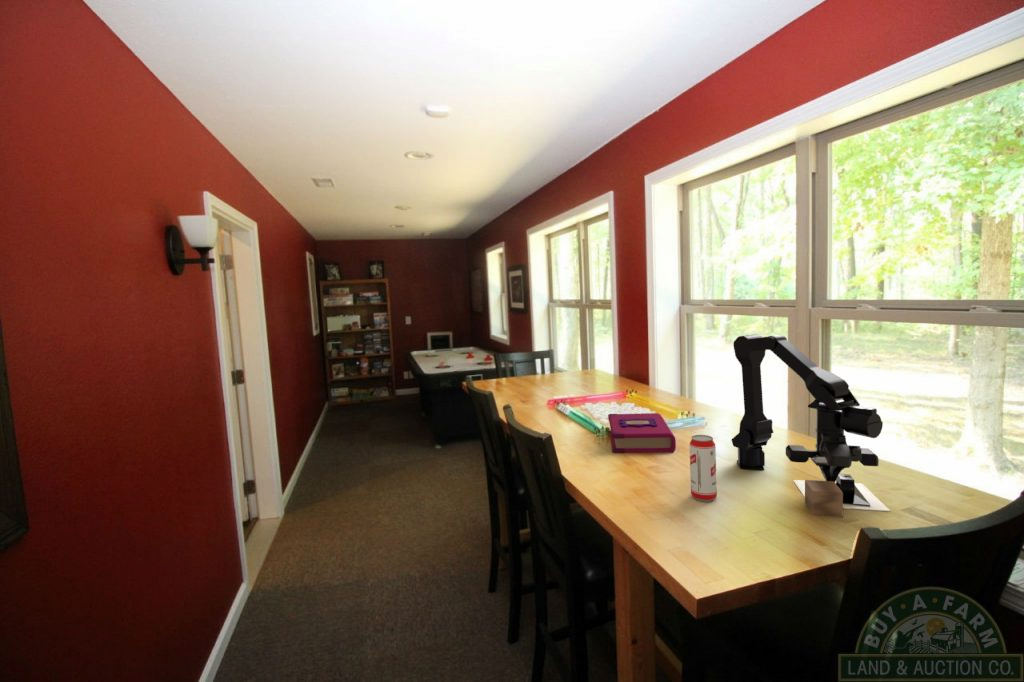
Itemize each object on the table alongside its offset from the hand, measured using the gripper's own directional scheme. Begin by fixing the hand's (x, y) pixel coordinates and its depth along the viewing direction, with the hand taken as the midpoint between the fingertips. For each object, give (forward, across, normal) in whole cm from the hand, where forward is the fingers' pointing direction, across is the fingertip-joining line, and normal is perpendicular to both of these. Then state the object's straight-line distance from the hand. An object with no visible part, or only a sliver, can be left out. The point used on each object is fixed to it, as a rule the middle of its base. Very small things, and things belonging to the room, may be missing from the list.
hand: (829, 487), depth 118 cm
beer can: (+2, -30, -7) cm, 31 cm away
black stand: (+2, +3, 0) cm, 4 cm away
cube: (+2, -4, -10) cm, 11 cm away
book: (+3, -49, +40) cm, 63 cm away
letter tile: (+2, +2, 0) cm, 2 cm away
